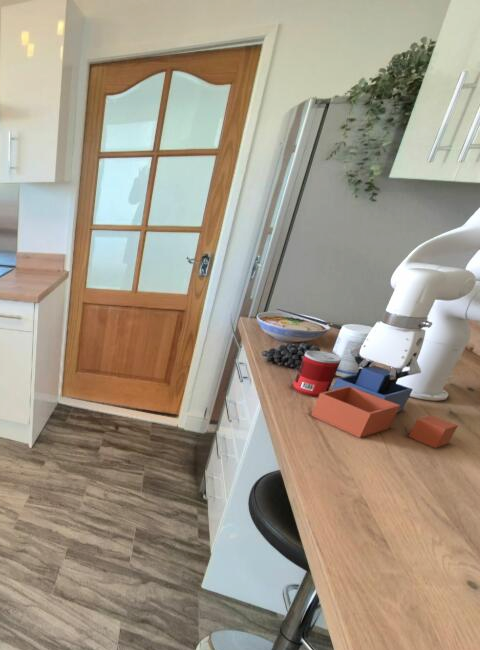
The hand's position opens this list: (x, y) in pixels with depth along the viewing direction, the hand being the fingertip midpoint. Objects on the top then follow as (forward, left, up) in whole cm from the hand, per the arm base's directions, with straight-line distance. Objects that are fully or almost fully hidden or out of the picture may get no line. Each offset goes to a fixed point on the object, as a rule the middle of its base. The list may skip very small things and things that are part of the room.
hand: (372, 386), depth 112 cm
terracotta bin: (+13, +4, -6) cm, 15 cm away
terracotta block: (+5, +16, -6) cm, 18 cm away
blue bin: (0, 0, -6) cm, 6 cm away
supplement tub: (-17, -15, -6) cm, 24 cm away
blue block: (0, 0, 0) cm, 0 cm away
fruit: (-7, -26, -6) cm, 27 cm away
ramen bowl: (-30, -43, -6) cm, 53 cm away
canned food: (+5, -11, -6) cm, 13 cm away
